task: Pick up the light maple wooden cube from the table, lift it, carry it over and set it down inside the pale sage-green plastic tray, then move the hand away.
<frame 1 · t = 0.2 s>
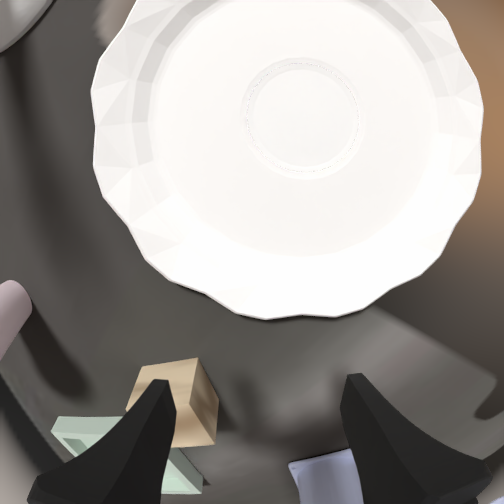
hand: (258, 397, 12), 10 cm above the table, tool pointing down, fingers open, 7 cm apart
plate: (303, 117, 18), on the table
green tray: (130, 451, 28), on the table
smoothie: (17, 298, 21), on the table
maple cube: (181, 383, 24), on the table
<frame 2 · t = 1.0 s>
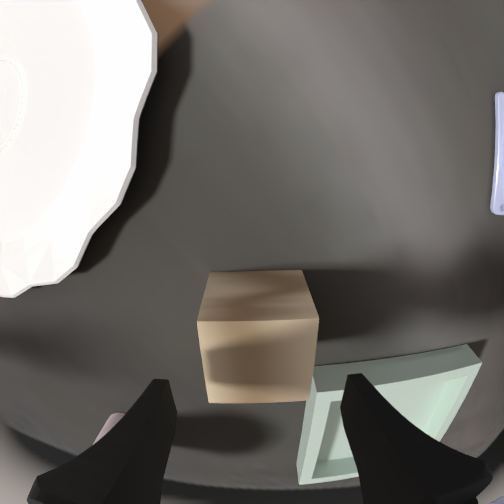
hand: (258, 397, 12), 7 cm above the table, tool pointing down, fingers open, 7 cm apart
green tray: (379, 414, 22), on the table
maple cube: (256, 309, 18), on the table
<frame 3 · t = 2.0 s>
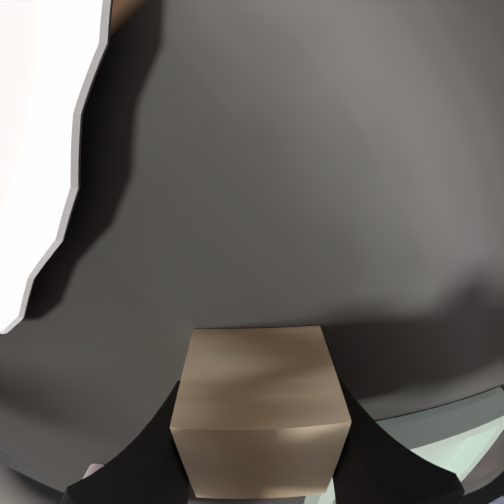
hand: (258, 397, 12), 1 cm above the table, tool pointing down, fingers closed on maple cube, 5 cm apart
green tray: (397, 464, 17), on the table
maple cube: (257, 374, 13), on the table, touching gripper
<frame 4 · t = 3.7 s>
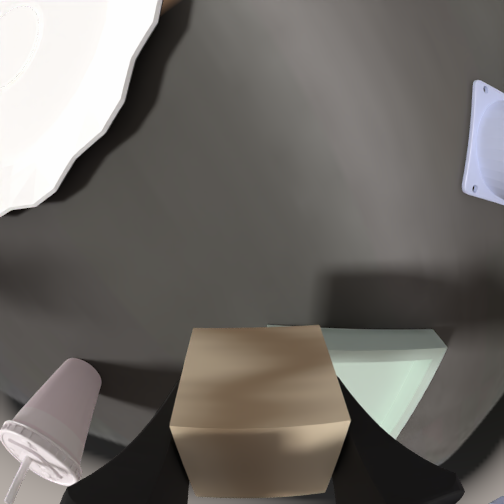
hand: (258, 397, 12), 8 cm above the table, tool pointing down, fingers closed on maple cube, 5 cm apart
plate: (9, 47, 13), on the table
green tray: (336, 394, 23), on the table
smoothie: (83, 373, 22), on the table
maple cube: (257, 373, 13), point 7 cm above the table, touching gripper
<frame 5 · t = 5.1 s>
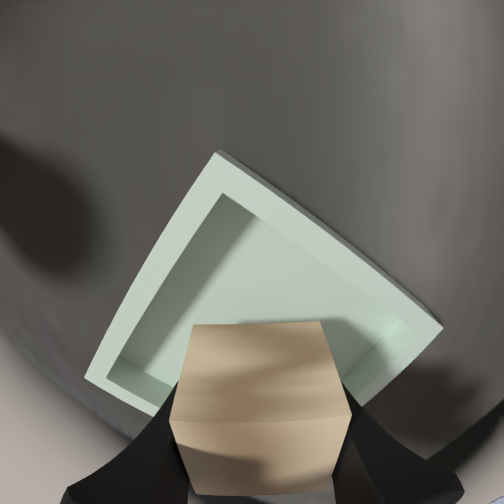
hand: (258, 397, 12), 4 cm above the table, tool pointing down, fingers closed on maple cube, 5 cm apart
green tray: (256, 336, 16), on the table
maple cube: (257, 370, 13), point 3 cm above the table, touching gripper
when the fingers open (3 cm above the table, at t = 5.8 s): maple cube drops 1 cm, resting on green tray.
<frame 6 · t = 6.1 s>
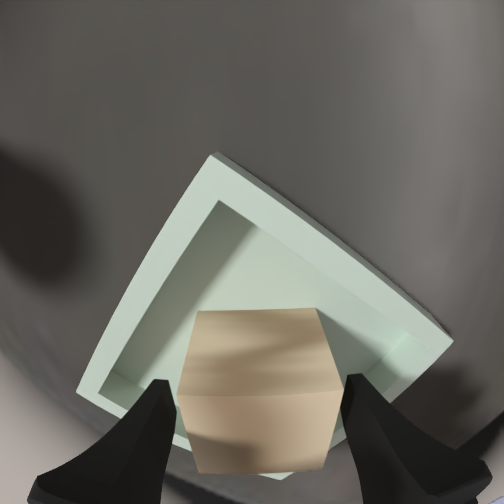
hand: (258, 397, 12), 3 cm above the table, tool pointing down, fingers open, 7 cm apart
green tray: (256, 350, 15), on the table
maple cube: (257, 355, 14), point 1 cm above the table, touching green tray
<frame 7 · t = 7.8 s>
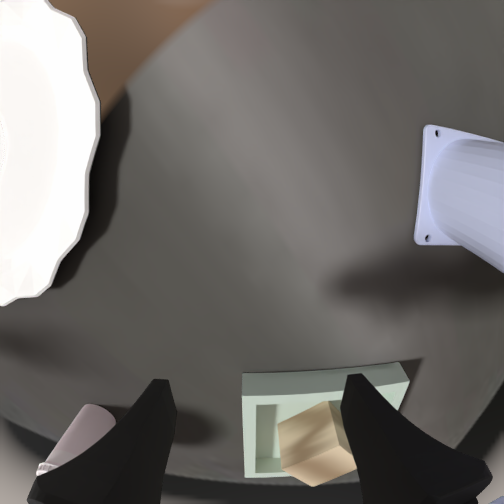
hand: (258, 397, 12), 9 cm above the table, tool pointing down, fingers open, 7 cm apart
green tray: (315, 420, 25), on the table
smoothie: (99, 414, 26), on the table
maple cube: (315, 424, 25), point 1 cm above the table, touching green tray
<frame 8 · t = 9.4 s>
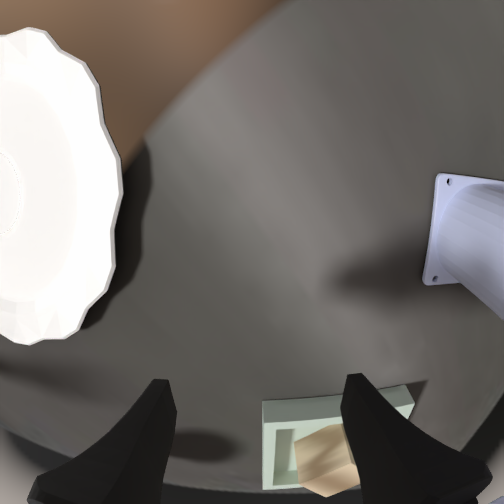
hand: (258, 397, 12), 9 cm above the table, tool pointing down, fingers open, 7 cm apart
green tray: (328, 437, 26), on the table
maple cube: (328, 441, 26), point 1 cm above the table, touching green tray
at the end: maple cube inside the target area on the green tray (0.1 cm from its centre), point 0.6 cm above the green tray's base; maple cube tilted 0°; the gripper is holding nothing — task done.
